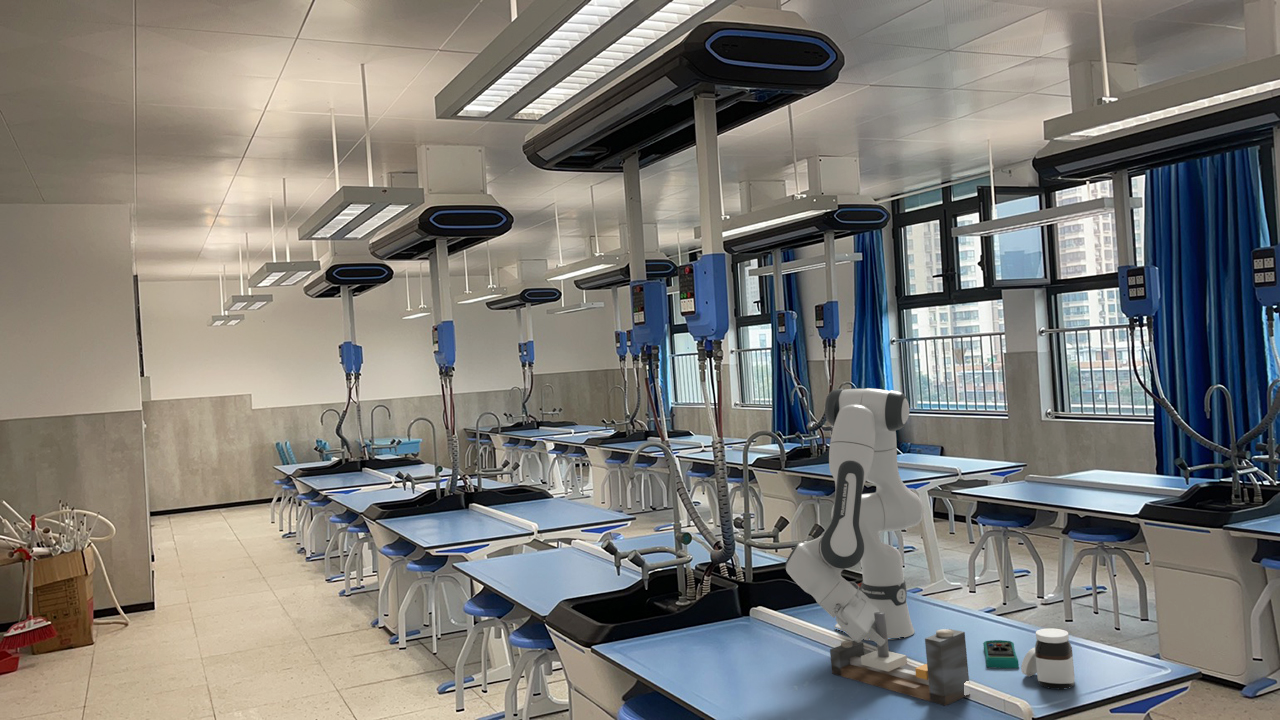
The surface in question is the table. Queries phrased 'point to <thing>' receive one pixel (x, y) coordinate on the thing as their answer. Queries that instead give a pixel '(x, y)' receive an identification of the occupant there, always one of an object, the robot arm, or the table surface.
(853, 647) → the slider track rig
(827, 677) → the table surface
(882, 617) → the carriage
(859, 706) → the table surface
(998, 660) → the digital multimeter
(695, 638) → the table surface
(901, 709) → the table surface
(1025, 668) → the spread jar
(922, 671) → the orange end stop block
